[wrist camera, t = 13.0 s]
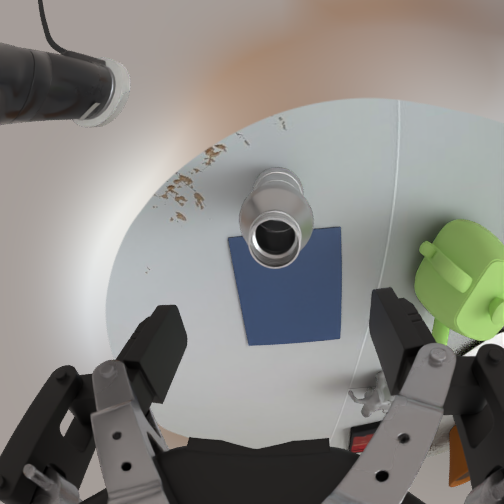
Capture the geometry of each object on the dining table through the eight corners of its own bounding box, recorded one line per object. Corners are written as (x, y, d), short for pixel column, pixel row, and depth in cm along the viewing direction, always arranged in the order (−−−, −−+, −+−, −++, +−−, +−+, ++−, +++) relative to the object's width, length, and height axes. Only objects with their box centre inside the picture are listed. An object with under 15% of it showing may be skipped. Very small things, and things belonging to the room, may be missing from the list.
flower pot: (425, 439, 60) (438, 488, 41) (484, 395, 51) (507, 443, 33) (450, 446, 63) (462, 486, 45) (499, 409, 54) (517, 447, 36)
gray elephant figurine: (396, 389, 50) (404, 415, 43) (345, 400, 52) (349, 427, 45) (402, 361, 47) (413, 389, 40) (346, 373, 49) (351, 403, 42)
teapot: (362, 305, 43) (389, 376, 28) (431, 189, 34) (497, 220, 20) (451, 342, 44) (482, 397, 30) (509, 255, 36) (558, 295, 21)
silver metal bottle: (297, 161, 35) (314, 185, 17) (306, 210, 38) (327, 280, 19) (249, 170, 36) (215, 203, 18) (260, 218, 39) (239, 293, 20)
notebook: (351, 434, 54) (428, 414, 51) (350, 427, 56) (426, 407, 53) (348, 456, 61) (415, 439, 57) (348, 449, 63) (414, 433, 59)
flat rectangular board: (228, 237, 40) (227, 238, 40) (340, 226, 38) (340, 227, 38) (248, 344, 48) (248, 345, 48) (339, 337, 45) (340, 338, 45)
